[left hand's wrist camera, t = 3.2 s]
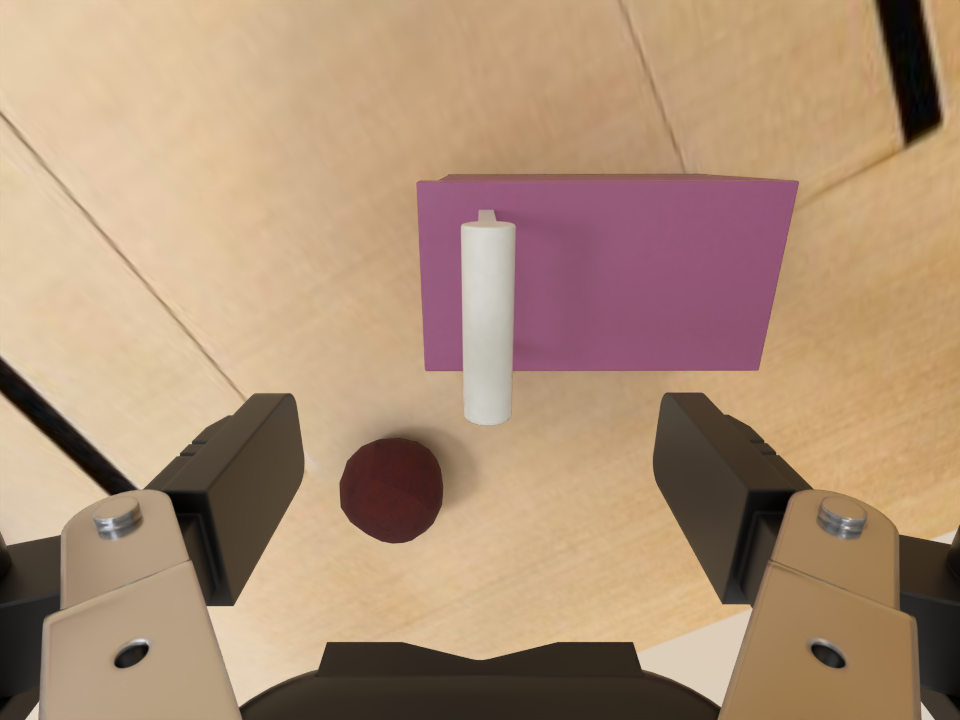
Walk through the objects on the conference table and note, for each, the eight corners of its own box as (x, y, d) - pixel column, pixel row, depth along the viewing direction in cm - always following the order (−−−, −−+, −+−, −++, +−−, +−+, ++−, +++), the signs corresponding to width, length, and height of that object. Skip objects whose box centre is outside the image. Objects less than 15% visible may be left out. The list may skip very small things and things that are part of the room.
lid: (427, 362, 27) (404, 451, 19) (419, 180, 24) (387, 192, 16) (746, 361, 27) (864, 451, 19) (784, 179, 24) (947, 190, 16)
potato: (418, 514, 43) (408, 578, 36) (336, 472, 41) (308, 531, 35) (465, 450, 41) (462, 506, 34) (379, 403, 39) (358, 453, 32)
